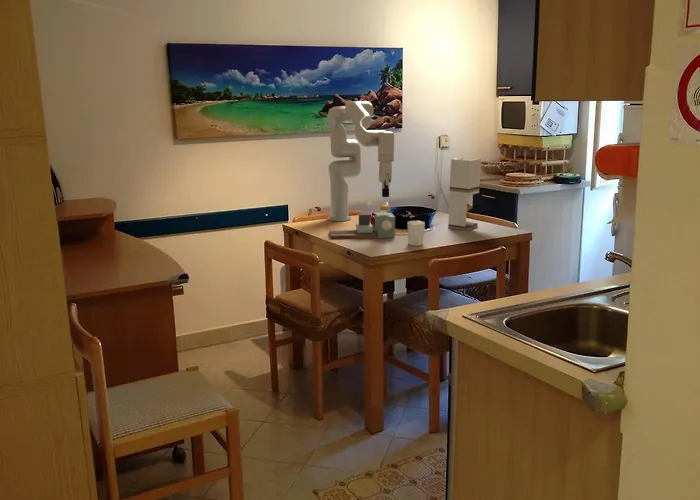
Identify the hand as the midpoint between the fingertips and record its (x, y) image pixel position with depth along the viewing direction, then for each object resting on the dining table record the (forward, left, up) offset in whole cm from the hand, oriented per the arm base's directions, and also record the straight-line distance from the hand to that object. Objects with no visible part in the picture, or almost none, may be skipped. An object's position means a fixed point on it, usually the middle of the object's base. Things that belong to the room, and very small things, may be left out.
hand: (385, 196), depth 315 cm
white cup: (+19, +11, -19) cm, 29 cm away
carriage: (0, -10, -17) cm, 20 cm away
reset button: (0, 0, -6) cm, 6 cm away
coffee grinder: (-14, +42, -19) cm, 49 cm away
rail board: (0, -16, -19) cm, 24 cm away
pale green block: (0, 0, -19) cm, 19 cm away
